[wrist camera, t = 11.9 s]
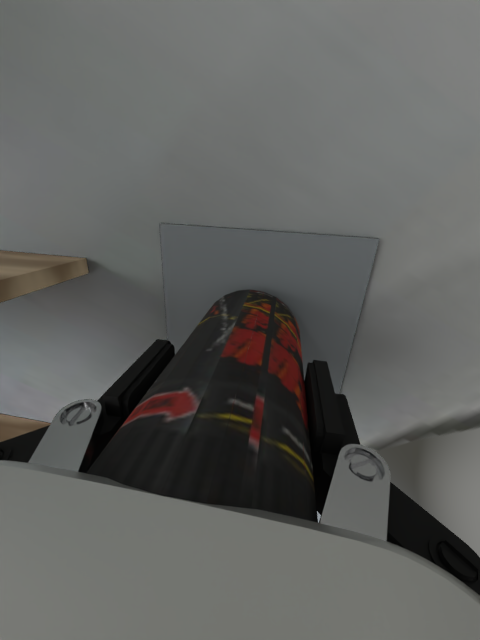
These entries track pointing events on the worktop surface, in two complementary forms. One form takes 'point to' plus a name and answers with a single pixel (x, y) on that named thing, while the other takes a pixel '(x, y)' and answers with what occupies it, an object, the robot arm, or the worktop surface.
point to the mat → (270, 282)
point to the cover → (22, 278)
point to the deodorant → (225, 416)
